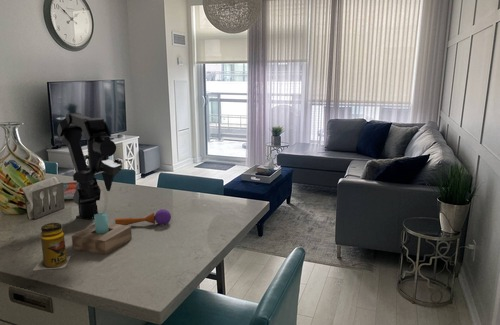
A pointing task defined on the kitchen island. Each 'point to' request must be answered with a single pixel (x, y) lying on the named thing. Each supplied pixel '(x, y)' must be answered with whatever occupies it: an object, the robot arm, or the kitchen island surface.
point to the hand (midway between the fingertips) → (100, 194)
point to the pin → (101, 223)
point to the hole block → (101, 238)
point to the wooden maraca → (147, 218)
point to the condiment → (52, 247)
